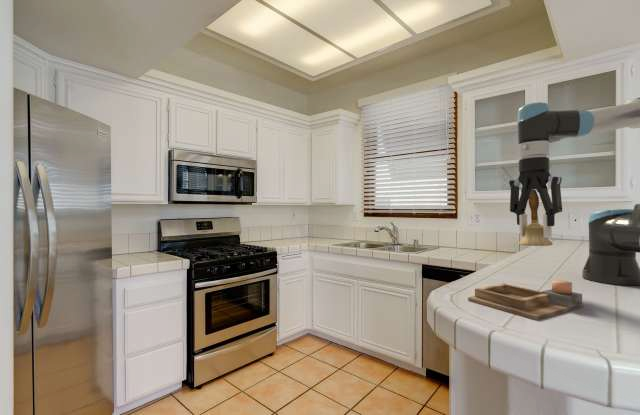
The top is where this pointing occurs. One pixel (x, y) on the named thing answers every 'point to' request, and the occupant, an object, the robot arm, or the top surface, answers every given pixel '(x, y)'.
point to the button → (562, 287)
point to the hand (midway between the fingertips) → (535, 236)
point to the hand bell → (534, 225)
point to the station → (526, 300)
